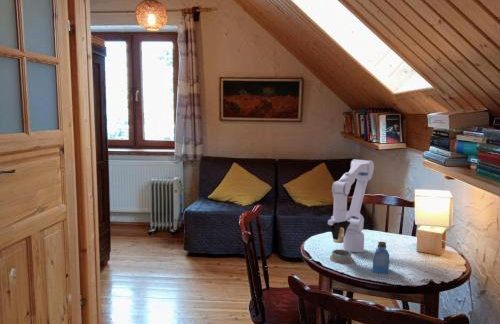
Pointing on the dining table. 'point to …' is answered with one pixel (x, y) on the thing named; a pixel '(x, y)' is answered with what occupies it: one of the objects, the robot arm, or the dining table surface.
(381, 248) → the blue corked bottle
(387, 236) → the dining table surface
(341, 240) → the wooden peg
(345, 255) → the bottle holder
